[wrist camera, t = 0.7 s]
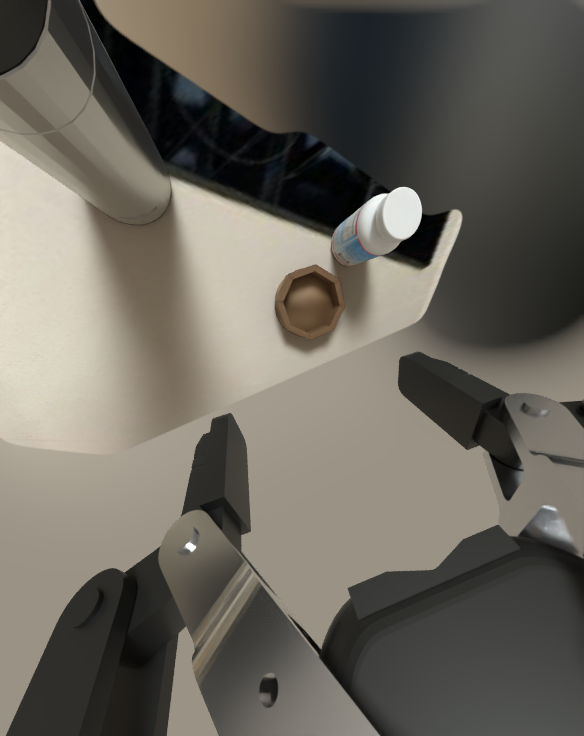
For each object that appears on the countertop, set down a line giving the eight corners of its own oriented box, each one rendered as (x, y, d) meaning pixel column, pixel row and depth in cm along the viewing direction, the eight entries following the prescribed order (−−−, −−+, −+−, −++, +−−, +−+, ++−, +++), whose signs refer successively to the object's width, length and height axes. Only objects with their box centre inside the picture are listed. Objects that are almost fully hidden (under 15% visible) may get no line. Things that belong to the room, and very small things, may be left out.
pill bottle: (371, 255, 33) (434, 231, 22) (339, 273, 32) (387, 258, 22) (358, 213, 31) (421, 166, 20) (323, 232, 30) (368, 194, 20)
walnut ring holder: (265, 281, 30) (267, 279, 28) (326, 259, 31) (334, 255, 29) (287, 345, 34) (291, 348, 31) (342, 323, 35) (351, 324, 32)
